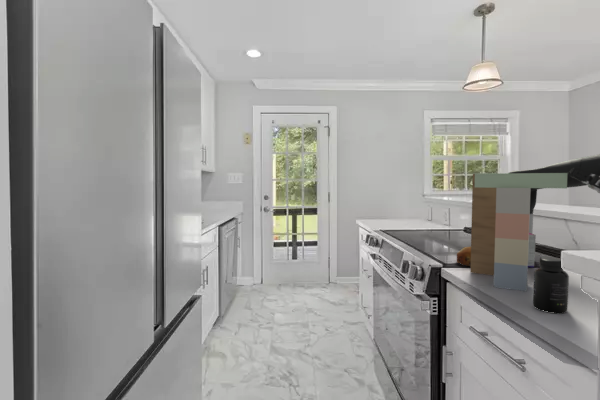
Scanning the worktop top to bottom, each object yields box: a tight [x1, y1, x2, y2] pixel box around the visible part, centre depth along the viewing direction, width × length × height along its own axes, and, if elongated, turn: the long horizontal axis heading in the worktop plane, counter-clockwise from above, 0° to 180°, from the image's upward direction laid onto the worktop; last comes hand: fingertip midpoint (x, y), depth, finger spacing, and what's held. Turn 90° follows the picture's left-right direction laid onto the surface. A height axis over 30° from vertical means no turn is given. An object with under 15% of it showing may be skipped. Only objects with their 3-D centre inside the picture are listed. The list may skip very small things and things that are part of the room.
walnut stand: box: [469, 173, 496, 276], centre depth 123 cm, size 8×10×32 cm
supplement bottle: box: [532, 256, 570, 314], centre depth 89 cm, size 7×7×12 cm
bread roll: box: [456, 246, 471, 267], centre depth 136 cm, size 10×10×8 cm
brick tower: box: [493, 188, 531, 292], centre depth 108 cm, size 8×8×28 cm
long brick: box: [474, 172, 568, 189], centre depth 106 cm, size 4×22×4 cm, turn 58°
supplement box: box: [528, 233, 537, 269], centre depth 133 cm, size 6×6×12 cm
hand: (570, 170), depth 100 cm, fingers open, 8 cm apart
